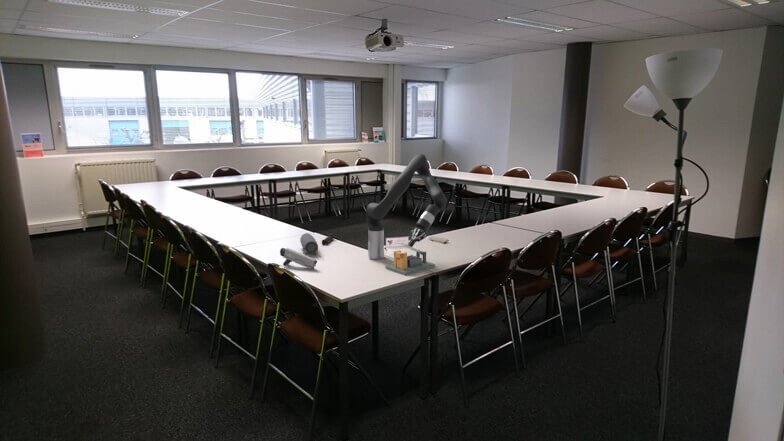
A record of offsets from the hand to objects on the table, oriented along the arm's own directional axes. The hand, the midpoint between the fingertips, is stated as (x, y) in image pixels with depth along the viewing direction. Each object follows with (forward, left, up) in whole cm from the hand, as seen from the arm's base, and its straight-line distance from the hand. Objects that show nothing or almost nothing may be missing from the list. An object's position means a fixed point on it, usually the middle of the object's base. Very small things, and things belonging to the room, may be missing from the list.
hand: (409, 246), depth 257 cm
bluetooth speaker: (-55, +48, -13) cm, 74 cm away
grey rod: (+8, +5, -6) cm, 11 cm away
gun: (-62, +16, -13) cm, 65 cm away
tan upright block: (-6, -3, -11) cm, 13 cm away
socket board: (+1, +1, -13) cm, 13 cm away
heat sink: (+1, +1, -11) cm, 11 cm away
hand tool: (-42, +70, -13) cm, 83 cm away
